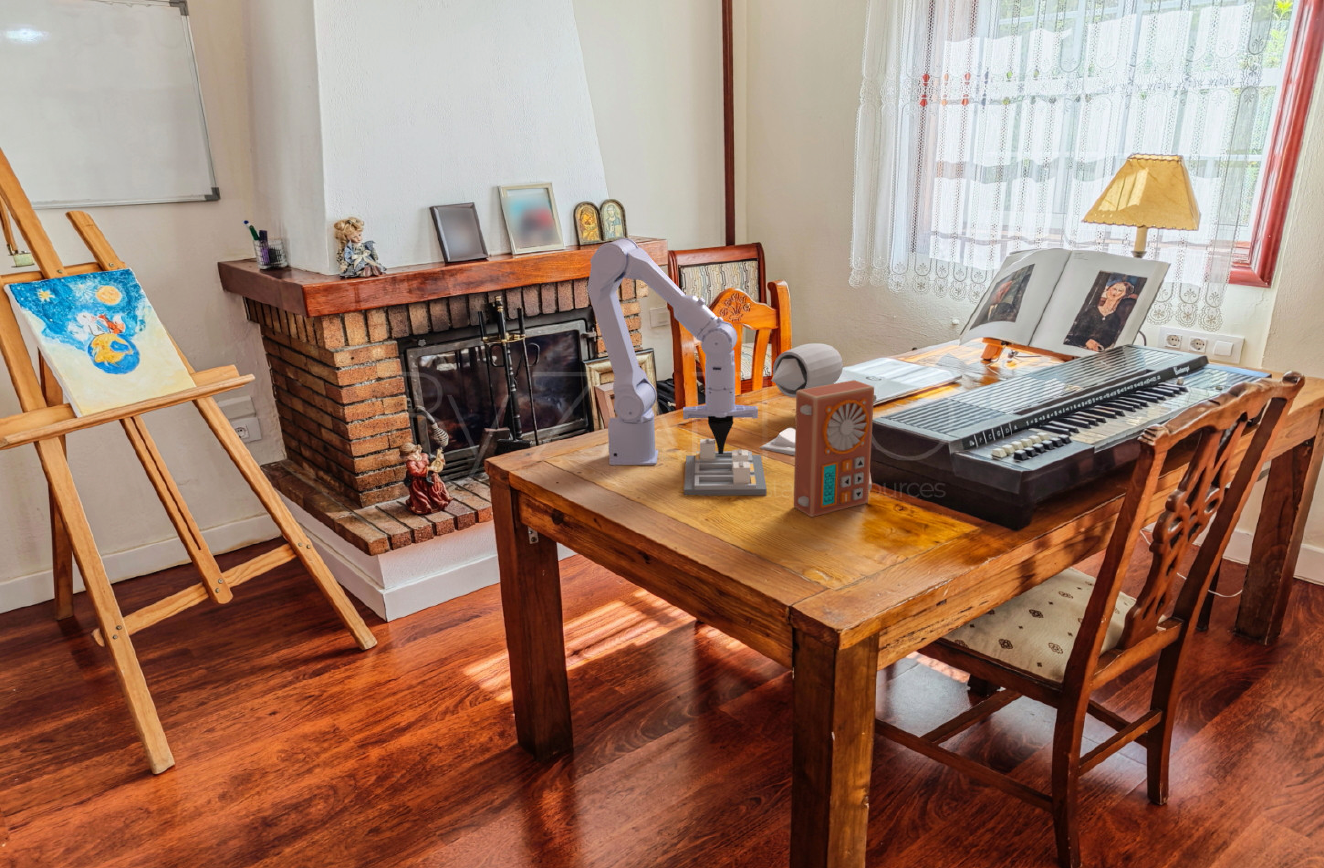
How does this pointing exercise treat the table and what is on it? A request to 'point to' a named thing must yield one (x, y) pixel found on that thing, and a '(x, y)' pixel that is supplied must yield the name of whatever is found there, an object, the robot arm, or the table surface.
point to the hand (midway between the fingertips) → (720, 452)
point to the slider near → (741, 472)
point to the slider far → (707, 448)
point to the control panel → (833, 447)
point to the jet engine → (806, 368)
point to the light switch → (782, 442)
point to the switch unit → (722, 476)
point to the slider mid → (739, 456)
